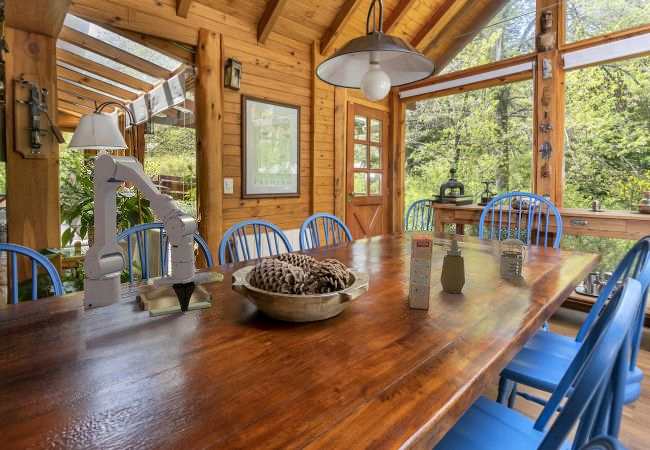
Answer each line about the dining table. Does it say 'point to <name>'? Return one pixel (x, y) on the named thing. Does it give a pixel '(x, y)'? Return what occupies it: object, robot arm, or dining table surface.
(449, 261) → the squeeze bottle
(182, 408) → the dining table surface
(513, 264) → the french press
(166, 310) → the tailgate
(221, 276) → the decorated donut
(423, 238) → the cracker box
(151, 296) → the cart
